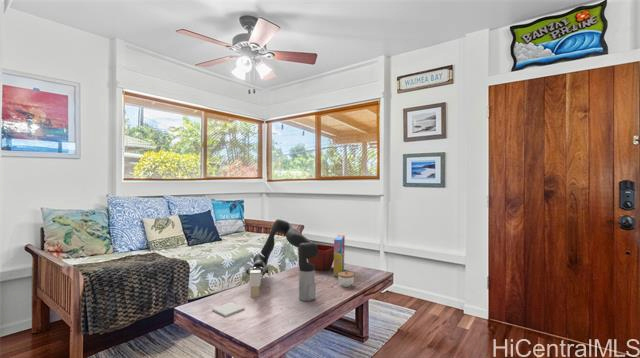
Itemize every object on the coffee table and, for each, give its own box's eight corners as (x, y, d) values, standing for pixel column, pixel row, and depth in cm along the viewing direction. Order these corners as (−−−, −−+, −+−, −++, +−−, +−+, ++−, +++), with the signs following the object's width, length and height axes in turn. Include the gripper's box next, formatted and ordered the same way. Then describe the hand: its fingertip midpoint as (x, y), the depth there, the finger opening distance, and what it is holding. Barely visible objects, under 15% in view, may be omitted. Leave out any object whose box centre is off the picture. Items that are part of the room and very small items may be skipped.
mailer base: (259, 293, 191) (259, 271, 191) (258, 296, 186) (258, 273, 186) (251, 293, 190) (251, 271, 190) (250, 296, 185) (251, 273, 185)
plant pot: (304, 268, 245) (304, 247, 245) (316, 263, 261) (317, 243, 261) (324, 273, 235) (325, 251, 235) (336, 267, 251) (337, 246, 251)
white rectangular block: (260, 282, 191) (260, 269, 191) (259, 286, 185) (260, 272, 185) (250, 282, 191) (250, 270, 191) (249, 286, 185) (249, 273, 185)
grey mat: (244, 309, 167) (244, 307, 167) (225, 316, 158) (225, 315, 158) (231, 303, 175) (231, 301, 175) (212, 310, 165) (212, 308, 165)
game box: (340, 277, 226) (341, 240, 226) (333, 276, 227) (333, 239, 227) (344, 269, 246) (344, 235, 246) (337, 268, 247) (337, 234, 247)
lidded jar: (353, 288, 203) (354, 274, 203) (337, 287, 204) (337, 273, 204) (354, 283, 213) (354, 269, 213) (338, 282, 215) (338, 268, 215)
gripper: (248, 261, 210) (245, 268, 194) (269, 261, 212) (267, 267, 196) (248, 272, 210) (244, 280, 194) (269, 272, 212) (267, 279, 196)
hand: (256, 273), depth 195 cm, fingers open, 8 cm apart
